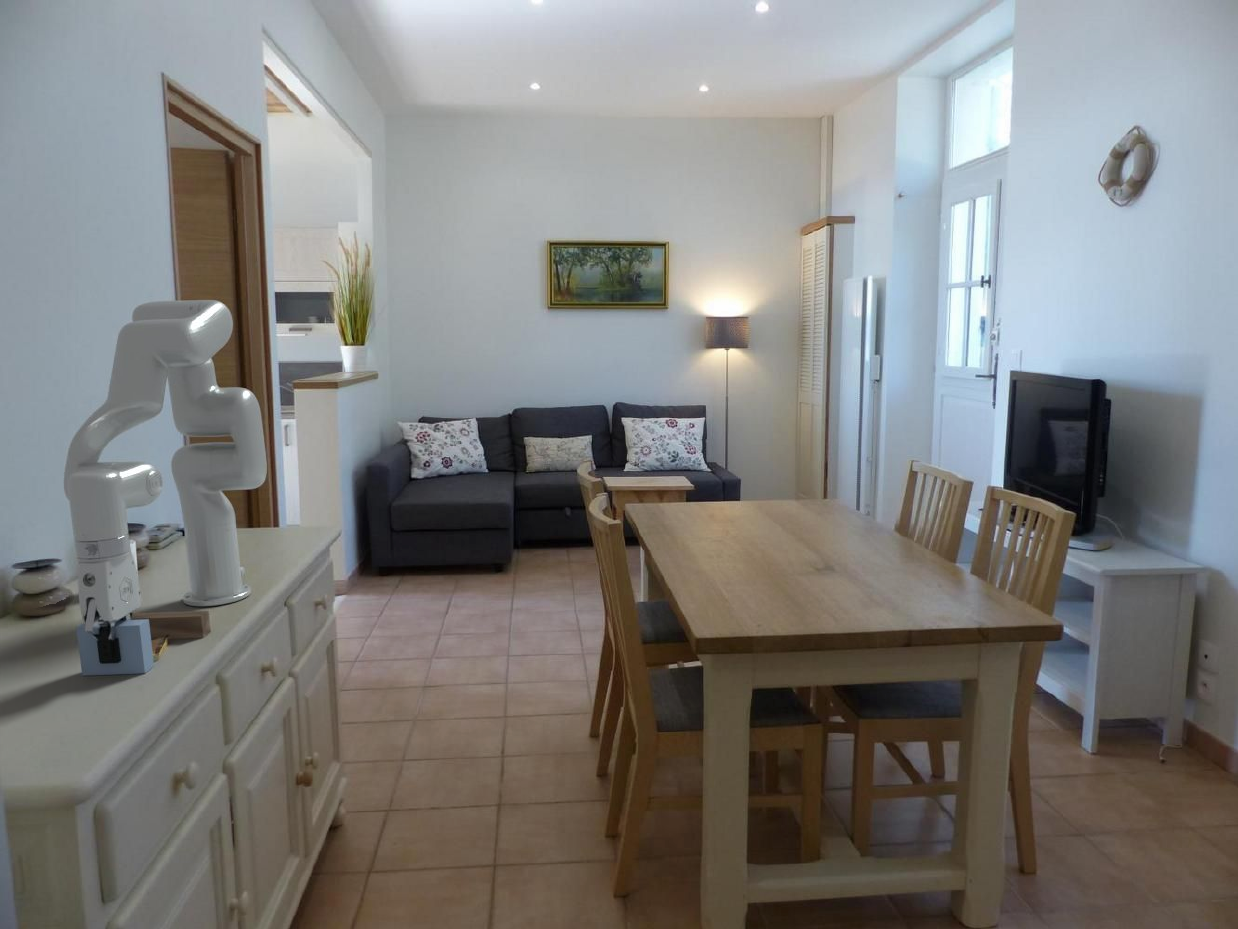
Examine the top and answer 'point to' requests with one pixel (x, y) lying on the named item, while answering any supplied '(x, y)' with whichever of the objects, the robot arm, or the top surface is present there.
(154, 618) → the bar
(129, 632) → the block
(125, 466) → the robot arm
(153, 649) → the shard
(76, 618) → the top surface
